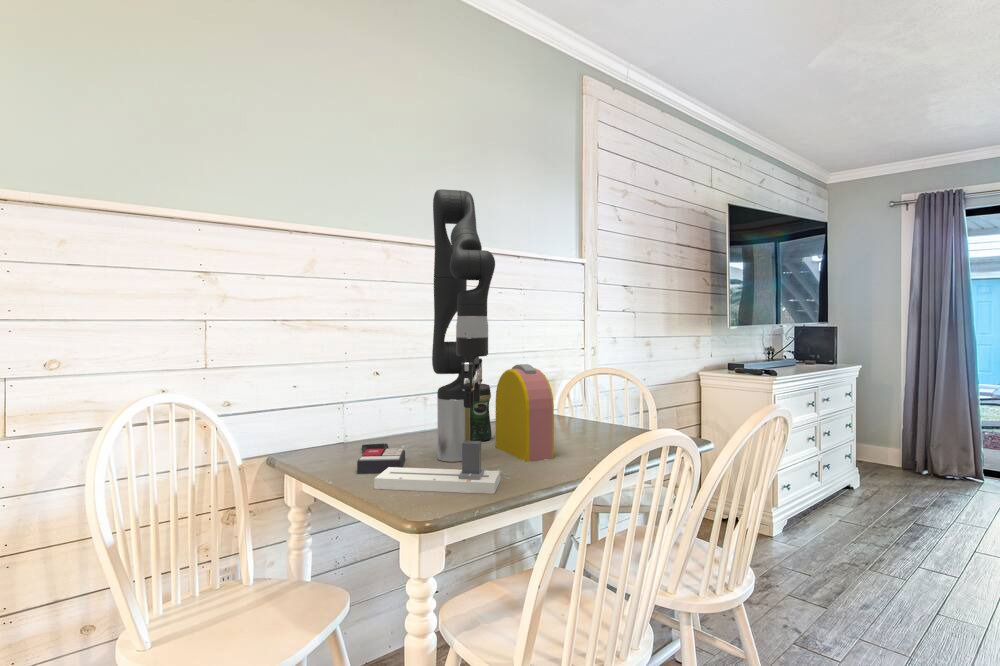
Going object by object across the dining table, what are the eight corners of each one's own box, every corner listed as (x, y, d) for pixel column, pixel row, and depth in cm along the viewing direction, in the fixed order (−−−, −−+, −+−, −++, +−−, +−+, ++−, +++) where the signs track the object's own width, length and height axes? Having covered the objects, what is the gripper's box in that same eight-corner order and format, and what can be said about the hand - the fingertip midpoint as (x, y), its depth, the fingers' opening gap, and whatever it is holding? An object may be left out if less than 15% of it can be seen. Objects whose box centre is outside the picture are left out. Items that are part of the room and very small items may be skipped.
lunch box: (554, 458, 156) (554, 366, 156) (526, 462, 152) (526, 367, 152) (520, 444, 175) (520, 361, 175) (494, 446, 171) (494, 362, 171)
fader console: (388, 477, 137) (388, 466, 137) (500, 481, 133) (500, 470, 133) (374, 488, 127) (374, 477, 127) (494, 493, 123) (494, 482, 123)
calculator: (405, 447, 156) (400, 457, 141) (405, 462, 155) (400, 474, 140) (365, 447, 155) (356, 457, 140) (365, 463, 154) (356, 475, 139)
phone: (387, 443, 172) (390, 454, 158) (387, 446, 172) (390, 457, 158) (361, 444, 170) (362, 455, 156) (361, 448, 170) (362, 459, 156)
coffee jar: (485, 436, 187) (485, 382, 187) (494, 440, 180) (494, 384, 180) (458, 438, 183) (458, 383, 183) (466, 443, 176) (466, 385, 176)
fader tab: (463, 471, 132) (463, 439, 132) (484, 472, 132) (484, 439, 132) (458, 478, 126) (458, 444, 126) (480, 479, 125) (480, 445, 125)
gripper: (462, 334, 136) (462, 399, 136) (449, 336, 122) (449, 409, 122) (492, 334, 135) (492, 400, 135) (483, 336, 121) (482, 410, 121)
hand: (472, 404), depth 129 cm, fingers open, 8 cm apart
